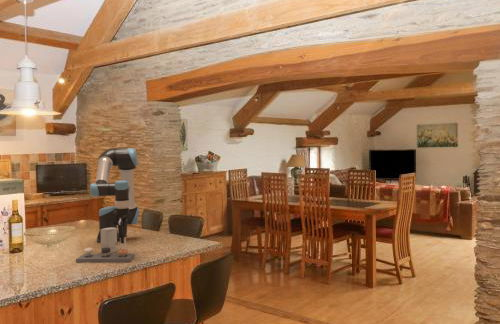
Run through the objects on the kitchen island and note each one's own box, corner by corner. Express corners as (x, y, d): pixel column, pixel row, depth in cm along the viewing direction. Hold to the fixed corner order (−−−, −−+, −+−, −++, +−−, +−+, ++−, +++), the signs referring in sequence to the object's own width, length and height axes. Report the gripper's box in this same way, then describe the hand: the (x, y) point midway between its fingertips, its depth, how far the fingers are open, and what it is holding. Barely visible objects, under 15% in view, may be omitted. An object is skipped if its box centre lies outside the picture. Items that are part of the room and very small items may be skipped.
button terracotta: (120, 257, 265) (120, 249, 265) (128, 257, 265) (128, 249, 265) (118, 259, 260) (117, 251, 260) (126, 259, 260) (126, 251, 260)
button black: (103, 256, 265) (103, 247, 265) (111, 255, 265) (111, 247, 265) (100, 258, 260) (100, 249, 260) (108, 258, 260) (108, 249, 260)
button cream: (86, 256, 265) (85, 247, 265) (94, 256, 265) (94, 247, 265) (83, 258, 260) (82, 249, 260) (91, 258, 260) (91, 249, 260)
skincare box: (107, 254, 276) (106, 229, 275) (100, 253, 278) (99, 228, 278) (117, 251, 283) (117, 227, 282) (110, 250, 286) (110, 226, 285)
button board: (84, 257, 269) (83, 253, 269) (134, 256, 268) (134, 253, 268) (76, 262, 257) (75, 259, 257) (129, 262, 256) (129, 258, 256)
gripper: (119, 206, 268) (120, 245, 269) (112, 209, 255) (113, 251, 256) (131, 205, 268) (132, 245, 269) (125, 209, 255) (126, 251, 256)
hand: (123, 248), depth 262 cm, fingers closed
